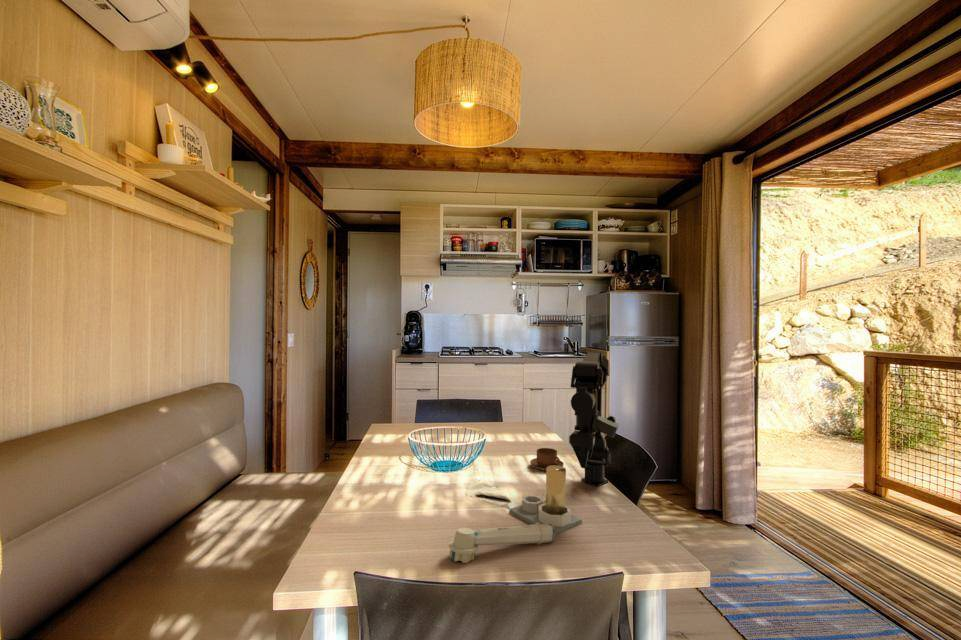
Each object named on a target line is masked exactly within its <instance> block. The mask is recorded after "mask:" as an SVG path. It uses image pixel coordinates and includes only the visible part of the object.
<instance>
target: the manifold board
mask: <svg viewBox="0 0 961 640" xmlns="http://www.w3.org/2000/svg"><path fill="white" fill-rule="evenodd" d="M521 503H522V504H521V505H517V506H514V507H512V508H511V507H510V508H511V509H510V508H508V510H509V511H508V513H510V514H511V515H513V516H515V517H516V518H518V519H520V520H522V521H525V522H526V523H528V524H529V525H532V524H535V523H537V522H538V523H539V524H551V525H552V526H553V527H554V530H555V536H556V535H559V534H560V533H562V532H565V531H567V530H570V529H572V528H574V527H577V526H578V525H581V524H582V523H583V519H582V518H580V517H577V516H575V515H573V514H572V511H571V507H570V506H567V505H565V514H562V515H550V514H548V513H546V512H545V503H546V501H545V502H544V498H543V497H542V496H539V495H534V494H527V495H524V496H522V502H521Z"/></svg>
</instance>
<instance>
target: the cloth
mask: <svg viewBox="0 0 961 640" xmlns="http://www.w3.org/2000/svg"><path fill="white" fill-rule="evenodd" d="M465 496H469V497H470V498H473V499H475V500H480V501H482V502H486V503H490V504H492V505H495V506H499V507H503V508H506V509H511V507H510V505H509V503H507V501H510V502H512V500H511V498H509V497H508V496H507V494H506V493H505V492H504V491H502V490H500V489H498V488H497V487H495V486H493V485H492V484H491V482H489V481H488V480H487V479H479V480H478V479H477V478H475V477H473V478H472V480H471V482H469V484H468V486H467V487H466V491H465ZM494 498H495V499H494Z"/></svg>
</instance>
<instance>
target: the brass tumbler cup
mask: <svg viewBox="0 0 961 640" xmlns="http://www.w3.org/2000/svg"><path fill="white" fill-rule="evenodd" d="M566 471H567V469H566V468H565V467H564V466H563V467H561V466H555V465H552V466H548V467H547V469H546V471H545V472H546V473H545V474H546V475H545V512H546V513H548V514H550V515H562V514H565V506H566V478H567V477H566V476H567V474H566V473H567V472H566Z"/></svg>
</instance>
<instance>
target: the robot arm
mask: <svg viewBox="0 0 961 640" xmlns="http://www.w3.org/2000/svg"><path fill="white" fill-rule="evenodd" d="M571 371H572V372H571V379H570V389H571V388H575V393H574V394H573V395H572V397H571V399H570V405H571V408H572V410H573V411H574V416H575V419H576V420H575V425H574V431H573V432H572V433H571V434H570V435H569V436H568V440H569V442H568V444H569V445H570V447H572V449H573V452H574V454H575V455H576V458H577V460H578V463H579V465H580V468H581V469H584V477H582V478H581V481H582V482H585V483H587V484H589V485H591V486H592V485H593V486H595V487H597V486H598V487H599V486H601V485H605V484H607V483H609V479H606V478H605V472H606V471H605V467H608V466H610V465H611V451H610V450H609V447H608V446H607V440H606V439H605V437H604V435H606V436H608V437H609V438H611V439H613V438H615V436H616V434H617V430H618V428H619V426H620V425H619V423H618V422H616V417H615V416H612V415H609V416H608V417H607V418H606V417H603V414H602V413H603V412H602V410H603V388H604V386H605V385H606V383H607V382H608V377H609V376H610V360H609V359H608V358H606V357H605V356H604V355H603V351H600V350H588V351H585V356H584V357H583V358H582V361H580V360H579V361H577V362H576V363H575V365H573V366H572V370H571Z"/></svg>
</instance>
